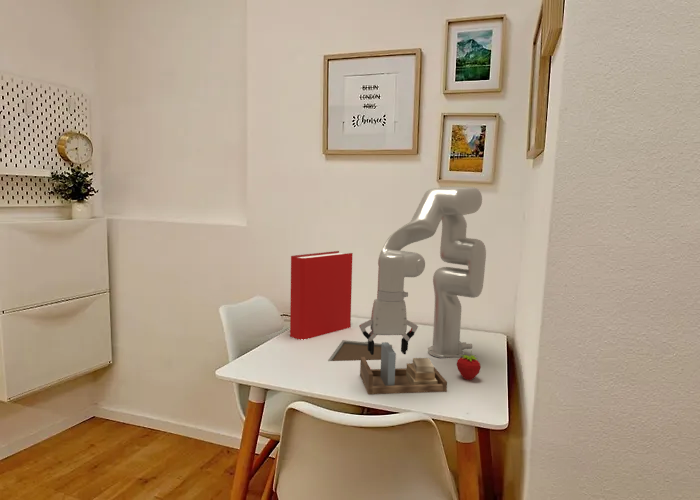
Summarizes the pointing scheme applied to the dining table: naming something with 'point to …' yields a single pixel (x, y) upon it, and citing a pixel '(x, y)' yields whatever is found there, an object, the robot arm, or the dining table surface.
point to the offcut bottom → (419, 382)
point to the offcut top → (423, 365)
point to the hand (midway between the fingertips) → (387, 353)
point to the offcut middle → (419, 376)
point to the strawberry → (468, 366)
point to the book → (320, 294)
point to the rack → (396, 381)
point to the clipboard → (355, 351)
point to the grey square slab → (387, 364)
